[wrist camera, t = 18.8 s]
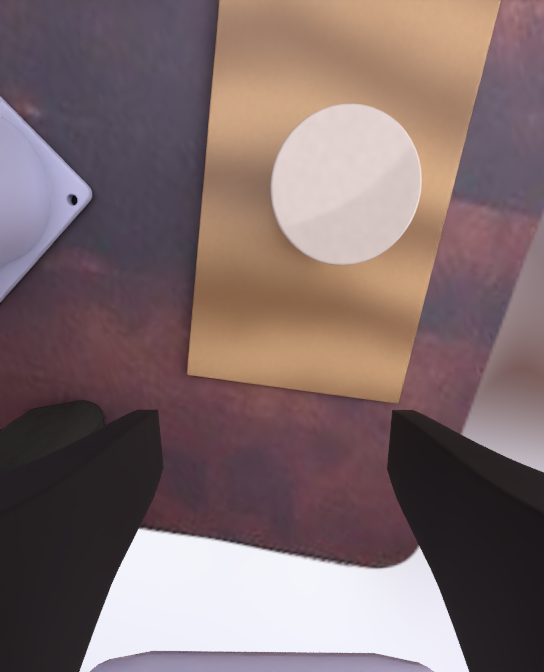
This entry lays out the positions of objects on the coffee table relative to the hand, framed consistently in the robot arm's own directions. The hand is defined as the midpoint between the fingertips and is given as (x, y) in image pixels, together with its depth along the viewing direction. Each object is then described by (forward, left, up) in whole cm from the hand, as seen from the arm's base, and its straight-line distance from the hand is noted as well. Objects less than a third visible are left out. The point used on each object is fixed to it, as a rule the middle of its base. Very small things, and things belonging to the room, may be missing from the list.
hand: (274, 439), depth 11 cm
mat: (+7, +4, -9) cm, 12 cm away
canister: (+7, +4, -9) cm, 12 cm away
